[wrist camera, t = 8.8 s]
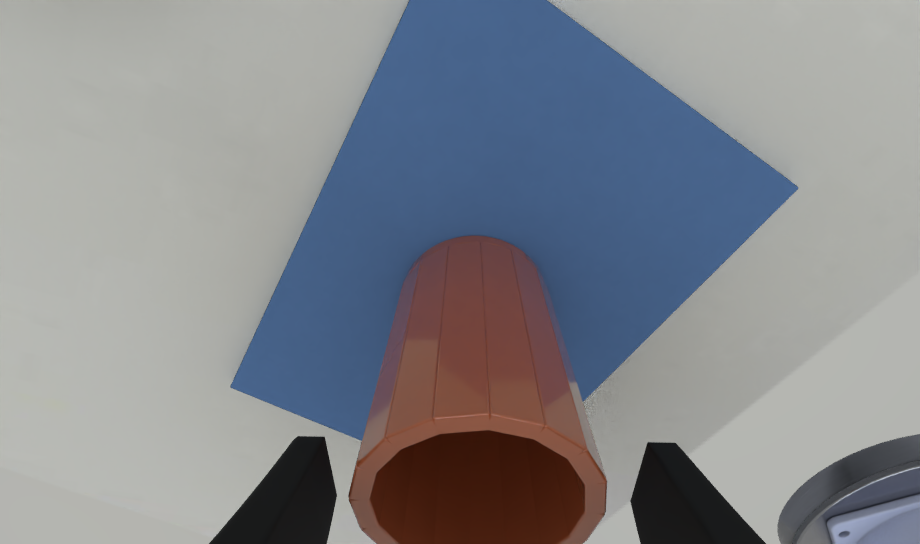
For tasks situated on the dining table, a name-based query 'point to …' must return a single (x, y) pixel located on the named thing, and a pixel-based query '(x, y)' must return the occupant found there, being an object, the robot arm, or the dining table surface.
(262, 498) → the robot arm
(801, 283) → the dining table surface
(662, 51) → the dining table surface
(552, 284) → the towel
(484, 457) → the cup
